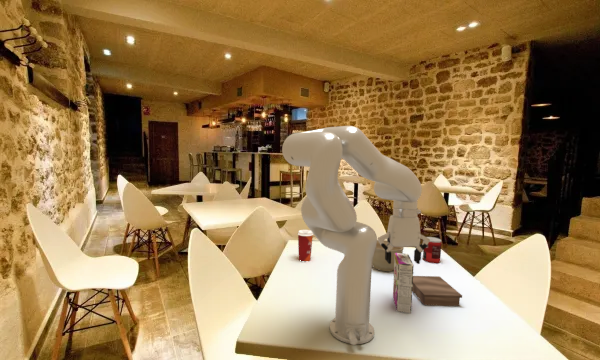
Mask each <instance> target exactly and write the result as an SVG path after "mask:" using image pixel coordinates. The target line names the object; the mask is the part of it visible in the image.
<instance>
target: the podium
mask: <svg viewBox="0 0 600 360" xmlns="http://www.w3.org/2000/svg"><path fill="white" fill-rule="evenodd" d="M412 294H414V296H416V298H418V299H419V301H420V302H421V303H422V304H423V306H434V307H435V306H439V307H441V306H443V307H447V306H448V307H460V301H461V299H462V298H463V294H461V293H460V292H459V291H458V290H456V289H455V288H454V287H453V286H452V285H450V284H449V283H448V282H447V281H445V279H443V278H442V277H441V276H436V275H434V276H431V275H430V276H429V275H413V287H412ZM460 298H461V299H460Z"/></svg>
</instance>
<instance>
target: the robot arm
mask: <svg viewBox="0 0 600 360" xmlns="http://www.w3.org/2000/svg"><path fill="white" fill-rule="evenodd" d="M281 149H282V156H283V158H284V159H285V161H286V162H287V163H288V164H289V165H292V166H295V167H307V168H308V167H309V169H308V173H307V178H306V182H305V186H304V187H305V188H304V189H305V190H304V191H305V194H306V196H305V198H304V199H303V201H302V204H301V208H300V212H301V217H302V220H303V222H304V224H305V225H306V226H307V227H308V230H311V231H312V233H313V236H314V237H315V238H316V239H317V240H318V241H319V243H320V244H322V245H323V246H324V247H325V248H328V249H331V250H334V251H336V252H338V253H341V254H343V255H344V256H343V259H342V260H341V261H340V262H339V264H338V266H337V270H336V271H337V272H336V294H335V295H336V296H335V318H333V319H332V320H331V321H330V323H329V331H330V333H331V335H332V336H333V337H334V338H335V339H337V340H338V341H341V342H342V343H346V344H349V345H350V344H351V345H352V346H355V345H362V344H363V345H364V344H366V343H368V342H370V341H372V340H373V338H374V336H375V328H374V326H373V325H372V324H371V322H370V312H371V311H370V308H371V293H372V292H371V287H372V270H373V264H372V262H373V257H374V252H375V249H376V244H377V240H378V241H379V243H380V245H381V246H382V247H383V248H384V249H385V260H386V261H387V262H388V263H389V264H390V263H391V252H390V250H391V249H392V248H393V247H404V248H415V249H414V252H413V261H414V262H415V264H417V265H419V264H420V263H421V260H422V253H423V250H424V249H425V248H426V247H427V245H428V243H429V241H430V239H429V238H427V237H428V236H425V235H424V234H422V233H421V226H420V225H421V224H420V218H419V217H418V215H419V214H421V213H422V210H421V209H419V208H418V200H419V199H420V198H421V196H422V193H423V189H422V183H421V182H420V180H419V178H418V177H417V176H416V174H415V173H414V172H413V171H412V170H411V169H410V168H409V167H408V166H406V165H405V164H402V163H400V162H398V161H397V160H394V159H393V158H391V157H389V156H387V155H384V154H382V152H380V150H379V149H378V148H377V147H376V146H375V145H374V144H373V142H371V139H369V138H368V137H367V135H365V133H364V132H363V131H362V130H361V129H360V128H358V127H356V126H353V125H342V126H341V125H340V126H339V125H338V126H330V127H329V126H328V127H323V128H318V129H314V130H307V131H302V132H295V133H292V134H290V135H288V136H287V137H286V138H285V139H284V142H283V144H282V148H281ZM342 159H343V160H344V162H346V163H347V164H348V165H349V166H350V167H351V168H352V169H353V170H354V171H355V172H356V173H357V174H358V175H359V176H361V177H362V178H365V179H366V180H370V181H372V182H374V184H373V192H374V193H375V195H376V196H377V197H378V198H380V199H383V200H386V201H387V200H388V201H389V200H390V201H393V209H392V210H393V211H392V215H390V216H389V220H388V224H387V225H388V226H387V232H386V233H385V234H383V235H380V236H377V233H376V231H375V230H374V229H373V228H372V227H371V226H370V225H368V224H366V223H364V222H359V221H358V219H357V216H358V215H357V212H356V210H355V208H354V205H353V204H352V202H351V201H350V198H349V197H348V196H347V195H346V192H345V191H344V189H343V188H342V186H341V183H340V182H339V177H338V176H339V168H340V164H341V162H342ZM384 240H386V241H387V242H388V243H387V244H386V245H385V244H384V242H383V241H384ZM421 240H422V243H421Z"/></svg>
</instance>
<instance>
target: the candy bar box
mask: <svg viewBox="0 0 600 360" xmlns="http://www.w3.org/2000/svg"><path fill="white" fill-rule="evenodd" d="M413 276H414V263H413V261H412V259H411V257H410V254H408V253H395V258H394V270H393V283H392V285H393V286H392V299H393V302H394V307H395V311H396V312H398V313H402V314H403V313H404V314H405V313H406V314H412V307H413V306H412V303H413V291H412V287H413Z"/></svg>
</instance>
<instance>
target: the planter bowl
mask: <svg viewBox="0 0 600 360" xmlns="http://www.w3.org/2000/svg"><path fill="white" fill-rule="evenodd" d="M383 242H384V244H385V245H386V244H387V243H388V242H387V239H385V240H384V241H383ZM404 248H405V247H393V248H392V249H391V250H390V252H391V263H390V264H389V263H388V262H387V261H386V260H385V249H384V248H383V247H382V246H381V245H380V243H379V241H378V239H377V244H376V249H375V252H374V257H373V262H372V268H374V269H375V270H379V271H382V272H392V271H394V258H395V253H403V252H404ZM403 254H404V253H403Z"/></svg>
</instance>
